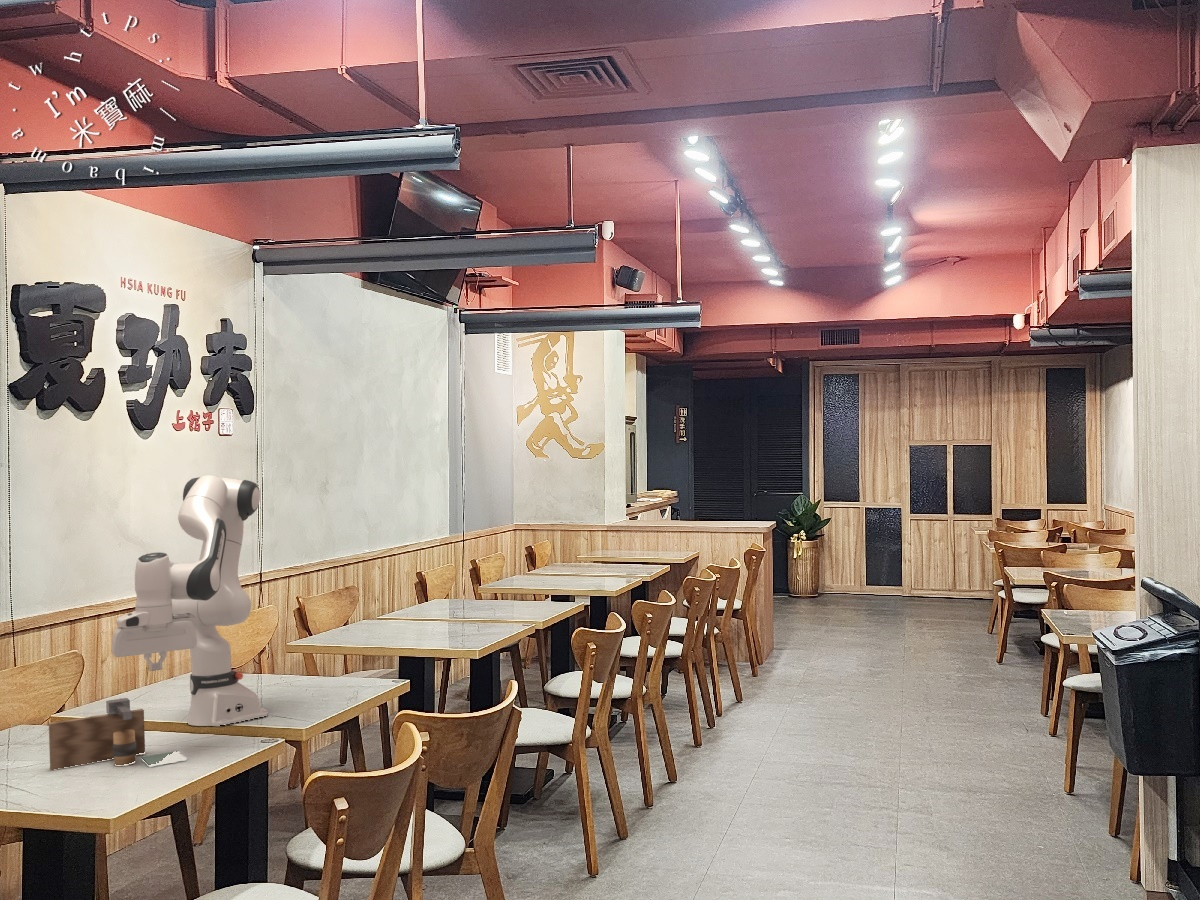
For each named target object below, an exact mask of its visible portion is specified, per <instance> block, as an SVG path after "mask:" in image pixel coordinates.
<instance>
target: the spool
mask: <svg viewBox="0 0 1200 900" xmlns="http://www.w3.org/2000/svg"><path fill="white" fill-rule="evenodd" d="M113 756H114V760H113V765H114V764H116V765H124V764H129V763H132V762H134V761H136V760H137V759H136V757H137V756H136V740H135V730H120V731H116V732H114V733H113ZM136 762H137V761H136Z"/></svg>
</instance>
